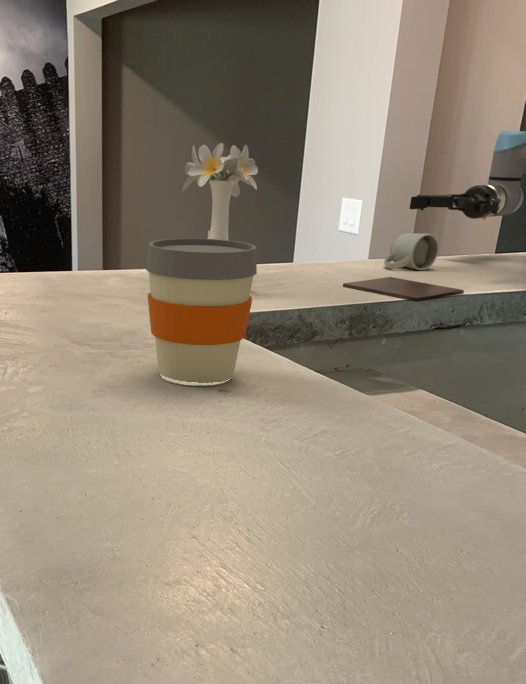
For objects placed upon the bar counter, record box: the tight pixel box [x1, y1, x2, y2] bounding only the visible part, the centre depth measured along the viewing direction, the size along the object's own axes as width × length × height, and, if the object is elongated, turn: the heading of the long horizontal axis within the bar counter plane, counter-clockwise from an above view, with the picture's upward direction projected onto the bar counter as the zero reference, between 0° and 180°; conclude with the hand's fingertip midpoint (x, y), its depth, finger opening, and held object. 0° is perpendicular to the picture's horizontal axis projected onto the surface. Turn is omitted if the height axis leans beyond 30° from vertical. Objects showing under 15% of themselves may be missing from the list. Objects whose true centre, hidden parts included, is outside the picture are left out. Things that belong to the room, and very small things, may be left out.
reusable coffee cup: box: [145, 237, 258, 387], centre depth 89 cm, size 12×13×15 cm
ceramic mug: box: [383, 232, 439, 271], centre depth 171 cm, size 11×8×8 cm
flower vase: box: [181, 142, 259, 240], centre depth 137 cm, size 13×18×25 cm
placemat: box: [342, 276, 465, 302], centre depth 148 cm, size 17×15×1 cm
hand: (438, 205), depth 173 cm, fingers open, 13 cm apart
